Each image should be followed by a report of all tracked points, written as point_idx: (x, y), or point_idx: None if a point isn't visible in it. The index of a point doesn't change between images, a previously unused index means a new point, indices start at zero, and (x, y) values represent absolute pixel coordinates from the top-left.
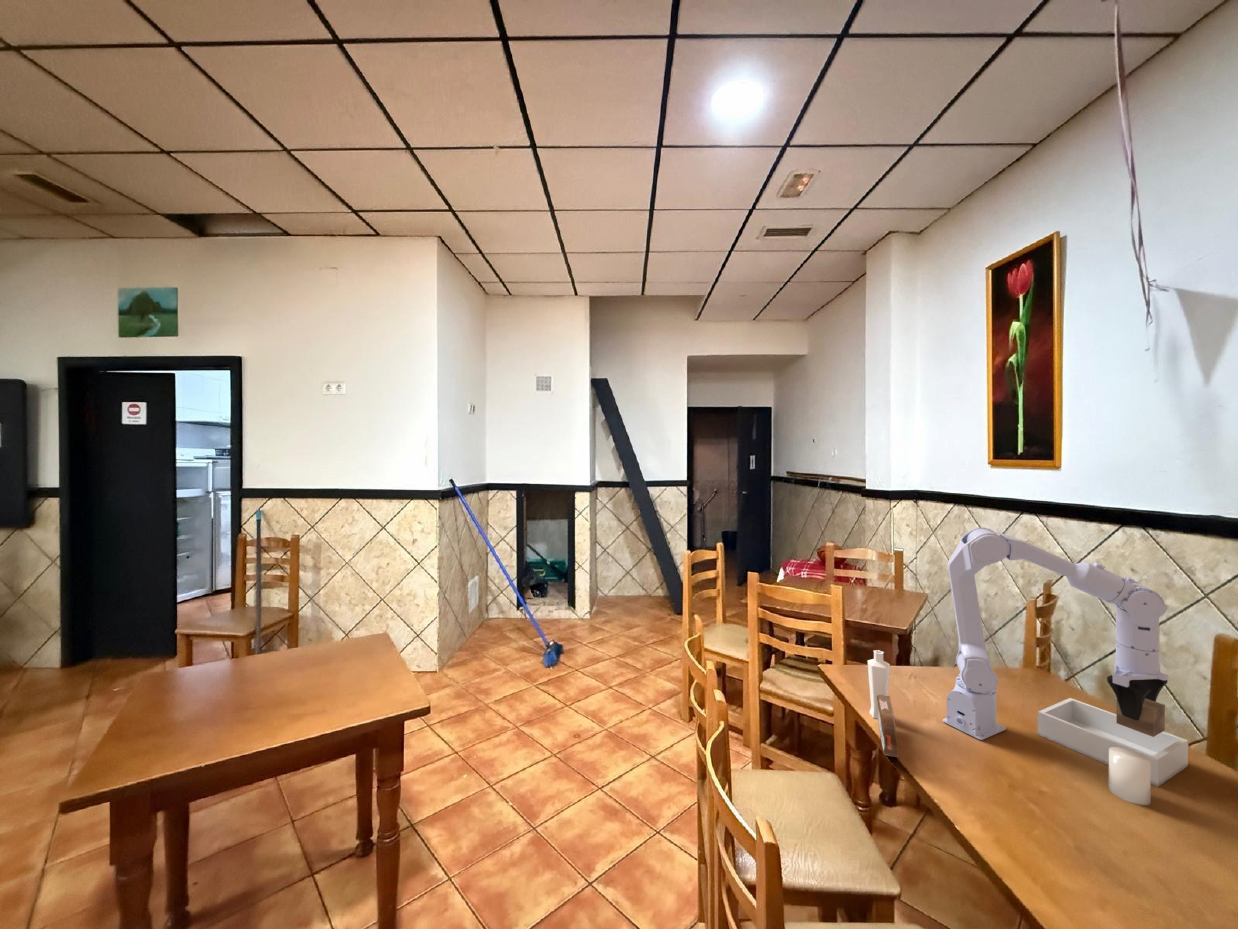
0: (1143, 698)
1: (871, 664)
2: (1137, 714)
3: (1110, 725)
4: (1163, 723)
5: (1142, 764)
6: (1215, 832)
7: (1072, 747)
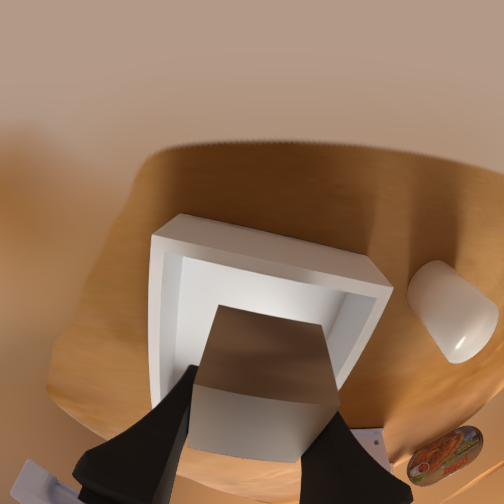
0: (365, 466)
1: None
2: None
3: (169, 354)
4: (227, 326)
5: (497, 310)
6: (460, 177)
7: None
